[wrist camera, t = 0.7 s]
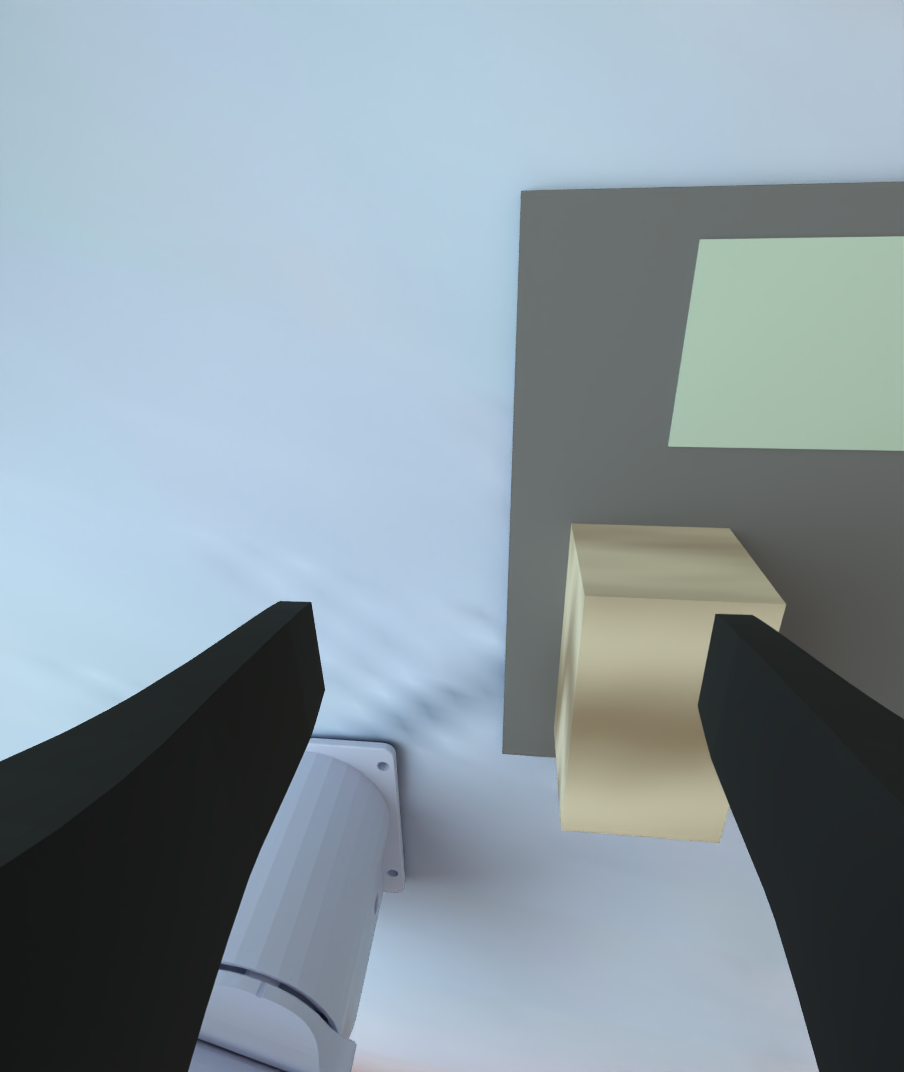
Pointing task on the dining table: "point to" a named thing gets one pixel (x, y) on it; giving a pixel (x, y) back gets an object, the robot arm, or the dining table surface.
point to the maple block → (645, 676)
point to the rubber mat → (713, 408)
